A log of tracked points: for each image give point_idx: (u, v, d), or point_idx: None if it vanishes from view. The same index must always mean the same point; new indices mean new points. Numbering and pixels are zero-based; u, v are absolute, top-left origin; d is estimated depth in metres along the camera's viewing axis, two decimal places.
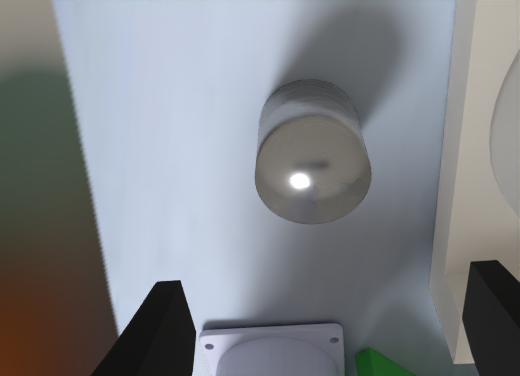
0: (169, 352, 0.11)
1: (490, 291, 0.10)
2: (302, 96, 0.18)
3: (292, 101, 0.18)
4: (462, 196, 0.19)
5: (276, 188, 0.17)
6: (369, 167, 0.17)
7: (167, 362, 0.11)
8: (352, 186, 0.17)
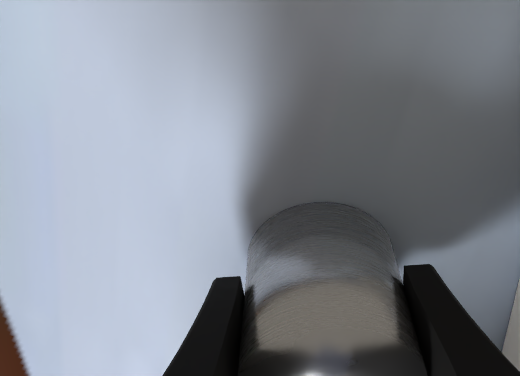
0: (235, 349, 0.11)
1: (416, 295, 0.11)
2: (313, 242, 0.11)
3: (297, 252, 0.11)
4: None
5: None
6: None
7: (234, 359, 0.11)
8: None
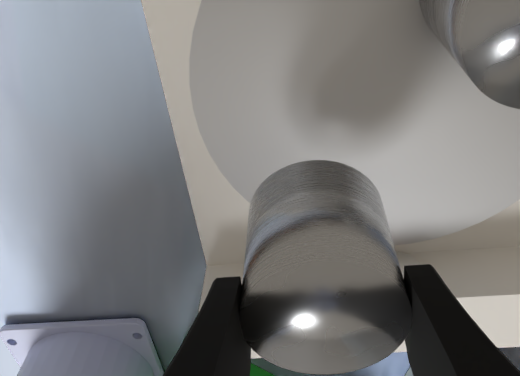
0: (235, 349, 0.11)
1: (416, 295, 0.11)
2: (304, 194, 0.12)
3: (290, 202, 0.12)
4: (195, 181, 0.18)
5: (272, 336, 0.12)
6: (409, 308, 0.11)
7: (233, 359, 0.11)
8: (384, 331, 0.12)
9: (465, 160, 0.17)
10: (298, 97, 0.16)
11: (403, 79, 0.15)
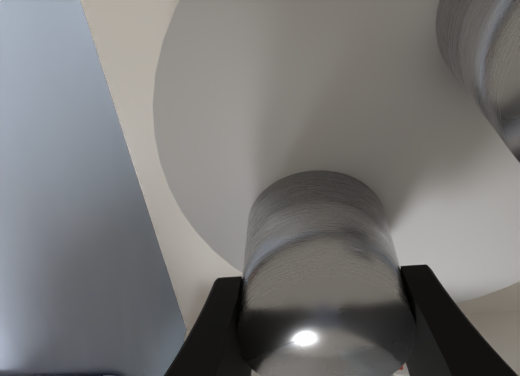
0: (236, 349, 0.11)
1: (412, 295, 0.11)
2: (305, 205, 0.12)
3: (290, 214, 0.12)
4: (168, 240, 0.16)
5: (271, 354, 0.11)
6: (414, 326, 0.11)
7: (235, 359, 0.11)
8: (387, 349, 0.11)
9: (490, 220, 0.14)
10: (287, 149, 0.13)
11: (416, 128, 0.12)
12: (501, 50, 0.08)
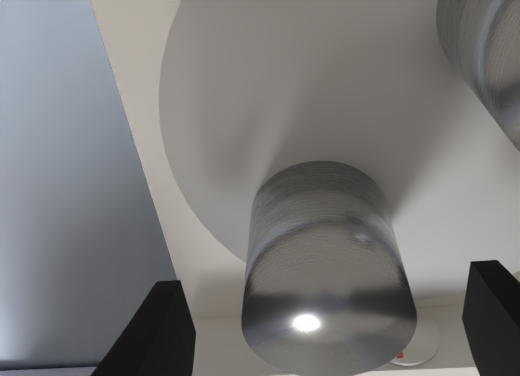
0: (169, 352, 0.11)
1: (490, 291, 0.10)
2: (307, 194, 0.12)
3: (293, 203, 0.12)
4: (173, 231, 0.16)
5: (274, 339, 0.12)
6: (414, 311, 0.11)
7: (167, 363, 0.11)
8: (388, 334, 0.11)
9: (489, 210, 0.14)
10: (290, 140, 0.13)
11: (416, 119, 0.13)
12: (499, 39, 0.08)
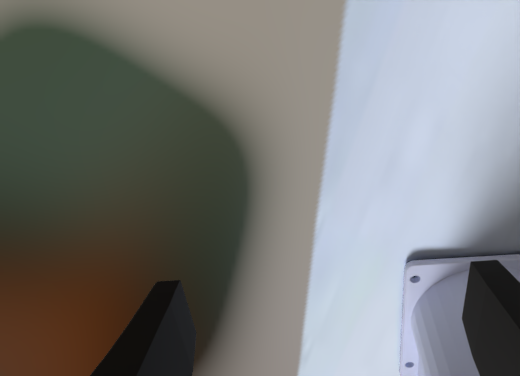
0: (169, 352, 0.11)
1: (490, 291, 0.10)
2: None
3: None
4: None
5: None
6: None
7: (167, 362, 0.11)
8: None
9: None
10: None
11: None
12: None
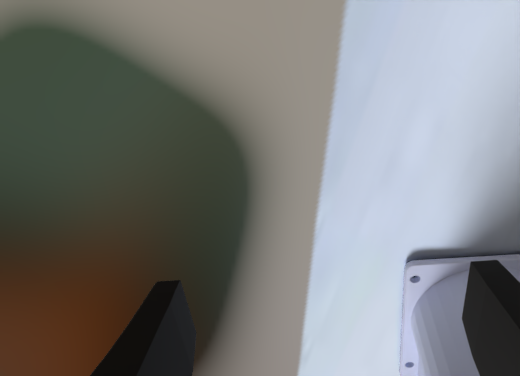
0: (169, 352, 0.11)
1: (490, 291, 0.10)
2: None
3: None
4: None
5: None
6: None
7: (167, 362, 0.11)
8: None
9: None
10: None
11: None
12: None
